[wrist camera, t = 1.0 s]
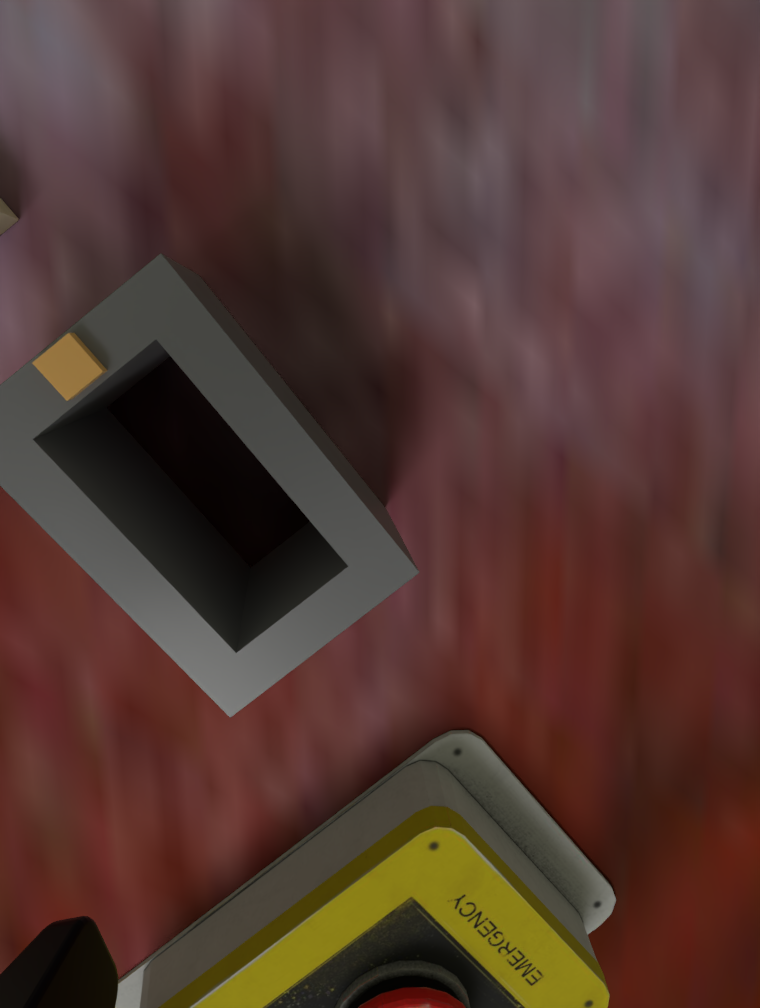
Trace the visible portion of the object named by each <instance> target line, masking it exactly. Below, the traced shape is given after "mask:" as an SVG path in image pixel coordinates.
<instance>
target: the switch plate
mask: <svg viewBox="0 0 760 1008" xmlns="http://www.w3.org/2000/svg"><path fill="white" fill-rule="evenodd" d="M18 220H19V219H18V218H17V217H16V215H15V214H14V213H13V212H12V211H11V210H10V208H9V207H8V206H7V205H6V204H5V203H4V201H3V200H2V199H1V198H0V235H1V234H3V233H4V232H5V231H6V230H7V229H9V228H10V227H11V226H12V225H13V224H15V223H16V222H17V221H18Z"/></svg>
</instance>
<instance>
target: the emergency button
mask: <svg viewBox="0 0 760 1008" xmlns="http://www.w3.org/2000/svg"><path fill="white" fill-rule="evenodd" d="M615 901H616V898H615V895H614V892H613V889H612V887H611V885H610V884H609V882H608V881H607V880H606V879H605V878H604V877H603V876H602V874H601V873H600V872H599V871H598V870H597V869H596V868H595V867H594V865H593V864H592V863H591V862H590V861H589V860H588V859H587V857H586V856H585V855H584V854H583V853H582V852H581V851H580V849H579V848H578V847H577V846H576V845H575V844H574V843H573V841H572V840H571V839H570V838H569V837H568V836H567V835H566V833H565V832H564V831H563V830H562V829H561V828H560V827H559V825H558V824H557V823H556V822H555V821H554V820H553V819H552V817H551V816H550V815H549V814H548V813H547V812H546V811H545V810H544V808H543V807H542V806H541V805H540V804H539V803H538V802H537V800H536V799H535V798H534V797H533V796H532V795H531V794H530V792H529V791H528V790H527V789H526V788H525V787H524V786H523V784H522V783H521V782H520V781H519V780H518V779H517V778H516V776H515V775H514V774H513V773H512V772H511V771H510V770H509V768H508V767H507V766H506V765H505V764H504V763H503V762H502V760H501V759H500V758H499V757H498V756H497V755H496V754H495V752H494V751H493V750H492V749H491V748H490V747H489V746H488V745H487V743H486V742H485V741H484V740H483V739H482V738H481V737H480V736H478V735H476V734H474V733H473V732H471V731H469V730H453V731H449V732H447V733H445V734H443V735H441V736H439V737H437V738H434V739H433V740H431V741H430V742H429V743H428V744H426V745H425V746H424V747H422V748H421V749H420V750H418V751H417V752H416V753H415V754H413V755H412V756H411V757H409V758H408V759H407V760H405V761H404V762H403V763H401V764H400V765H399V766H398V767H396V768H395V769H394V770H392V771H391V772H390V773H388V774H387V775H386V776H384V777H383V778H382V779H381V780H379V781H378V782H377V783H375V784H374V785H373V786H371V787H370V788H369V789H368V790H366V791H365V792H364V793H362V794H361V795H360V796H358V797H357V798H356V799H354V800H353V801H352V802H351V803H349V804H348V805H347V806H345V807H344V808H343V809H341V810H340V811H339V812H337V813H336V814H335V815H334V816H332V817H331V818H330V819H328V820H327V821H326V822H324V823H323V824H322V825H321V826H319V827H318V828H317V829H315V830H314V831H313V832H311V833H310V834H309V835H307V836H306V837H305V838H304V839H302V840H301V841H300V842H298V843H297V844H296V845H294V846H293V847H292V848H290V849H289V850H288V851H287V852H285V853H284V854H283V855H281V856H280V857H279V858H277V859H276V860H275V861H274V862H272V863H271V864H270V865H268V866H267V867H266V868H264V869H263V870H262V871H260V872H259V873H258V874H257V875H255V876H254V877H253V878H251V879H250V880H249V881H247V882H246V883H245V884H243V885H242V886H241V887H240V888H238V889H237V890H236V891H234V892H233V893H232V894H230V895H229V896H228V897H227V898H225V899H224V900H223V901H221V902H220V903H219V904H217V905H216V906H215V907H213V908H212V909H211V910H210V911H208V912H207V913H206V914H204V915H203V916H202V917H200V918H199V919H198V920H196V921H195V922H194V923H193V924H191V925H190V926H189V927H187V928H186V929H185V930H183V931H182V932H181V933H180V934H178V935H177V936H176V937H174V938H173V939H172V940H170V941H169V942H168V943H166V944H165V945H164V946H163V947H161V948H160V949H159V950H157V951H156V952H155V953H153V954H152V955H151V956H149V957H148V958H147V959H146V960H144V961H143V962H142V963H140V964H139V965H138V966H136V967H135V968H134V969H133V970H131V971H130V972H129V973H127V974H126V975H125V976H123V977H122V978H121V979H119V980H118V993H117V1000H116V1005H115V1008H607V1007H608V1002H609V996H610V995H609V991H608V988H607V985H606V981H605V978H604V975H603V972H602V970H601V968H600V966H599V963H598V962H597V960H596V957H595V954H594V952H593V949H592V946H591V943H590V941H589V938H588V934H589V933H590V932H592V931H593V930H594V929H596V928H597V927H599V926H600V925H601V924H602V923H603V922H604V921H605V920H606V919H607V918H608V917H609V915H610V914H611V913H612V911H613V908H614V905H615Z"/></svg>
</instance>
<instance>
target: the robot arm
mask: <svg viewBox="0 0 760 1008" xmlns="http://www.w3.org/2000/svg"><path fill="white" fill-rule="evenodd" d="M117 993H118V974H117V969H116V966H115V963H114V961H113V959H112V957H111V955H110V953H109V950H108V948H107V946H106V944H105V942H104V940H103V938H102V936H101V934H100V931H99V929H98V927H97V925H96V923H95V922H94V920H92V919H91V918H90V917H88V916H81V917H75V918H70V919H65V920H59V921H55V922H53V923H51V924H49V925H48V926H47V927H46V928H45V929H43V930H42V931H41V932H40V934H39V935H38V936H37V937H36V938H35V939H34V940H33V941H32V942H31V943H30V944H29V945H28V946H27V947H26V948H25V949H24V950H23V951H22V952H21V953H20V954H19V956H18V957H17V958H16V959H15V960H14V961H13V962H12V963H11V964H10V965H9V966H8V967H7V968H6V969H5V970H4V971H3V972H2V973H1V974H0V1008H115V1005H116V1000H117Z"/></svg>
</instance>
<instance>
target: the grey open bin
mask: <svg viewBox="0 0 760 1008" xmlns="http://www.w3.org/2000/svg"><path fill="white" fill-rule="evenodd" d="M170 356H171V357H172V358H173V360H174V361H175V362H176V363H177V364H178V366H179V367H180V368H181V369H182V370H183V371H184V373H185V374H186V375H187V376H188V377H189V379H190V380H191V381H192V382H193V383H194V384H195V386H196V387H197V388H198V389H199V390H200V392H201V393H202V394H203V395H204V396H205V397H206V399H207V400H208V401H209V402H210V403H211V405H212V406H213V407H214V408H215V409H216V410H217V412H218V413H219V414H220V415H221V416H222V418H223V419H224V420H225V421H226V422H227V423H228V425H229V426H230V427H231V428H232V429H233V431H234V432H235V433H236V434H237V435H238V436H239V438H240V439H241V440H242V441H243V442H244V444H245V445H246V446H247V447H248V448H249V449H250V451H251V452H252V453H253V454H254V455H255V457H256V458H257V459H258V460H259V461H260V462H261V464H262V465H263V466H264V467H265V468H266V470H267V471H268V472H269V473H270V474H271V475H272V477H273V478H274V479H275V480H276V481H277V483H278V484H279V485H280V486H281V487H282V488H283V490H284V491H285V492H286V493H287V494H288V496H289V497H290V498H291V499H292V500H293V501H294V503H295V504H296V505H297V506H298V507H299V509H300V510H301V511H302V512H303V513H304V514H305V516H306V517H307V518H308V519H309V520H310V522H309V523H307V524H306V525H305V526H303V527H302V528H301V529H300V530H298V531H297V532H296V533H294V534H293V535H292V536H291V537H289V538H288V539H287V540H286V541H284V542H283V543H282V544H280V545H279V546H278V547H277V548H275V549H274V550H273V551H271V552H270V553H269V554H268V555H266V556H265V557H264V558H262V559H261V560H260V561H259V562H257V563H256V564H255V565H254V566H252V567H251V568H250V566H249V565H248V564H247V563H246V562H245V561H244V560H243V559H242V558H241V556H240V555H239V554H238V553H237V552H236V551H235V550H234V549H233V548H232V546H231V545H230V544H229V543H228V542H227V541H226V540H225V539H224V538H223V536H222V535H221V534H220V533H219V532H218V531H217V530H216V529H215V528H214V526H213V525H212V524H211V523H210V522H209V521H208V520H207V519H206V518H205V516H204V515H203V514H202V513H201V512H200V511H199V510H198V509H197V508H196V506H195V505H194V504H193V503H192V502H191V501H190V500H189V499H188V498H187V496H186V495H185V494H184V493H183V492H182V491H181V490H180V489H179V488H178V486H177V485H176V484H175V483H174V482H173V481H172V480H171V479H170V478H169V476H168V475H167V474H166V473H165V472H164V471H163V470H162V469H161V468H160V466H159V465H158V464H157V463H156V462H155V461H154V460H153V459H152V458H151V456H150V455H149V454H148V453H147V452H146V451H145V450H144V449H143V448H142V446H141V445H140V444H139V443H138V442H137V441H136V440H135V439H134V438H133V436H132V435H131V434H130V433H129V432H128V431H127V430H126V429H125V428H124V426H123V425H122V424H121V423H120V422H119V421H118V420H117V419H116V418H115V416H114V415H113V414H112V413H111V412H110V411H109V410H108V409H107V407H108V406H109V405H110V404H112V403H113V402H114V401H115V400H117V399H118V398H119V397H120V396H122V395H123V394H124V393H125V392H126V391H128V390H129V389H130V388H131V387H133V386H134V385H135V384H136V383H138V382H139V381H140V380H141V379H143V378H144V377H145V376H146V375H147V374H149V373H150V372H151V371H152V370H154V369H155V368H156V367H157V366H159V365H160V364H161V363H162V362H164V361H165V360H166V359H167V358H168V357H170ZM0 486H1V487H2V488H3V489H4V490H5V491H6V492H7V493H8V494H9V495H10V496H11V497H12V498H13V499H14V500H15V501H16V502H17V503H18V504H19V505H20V506H21V507H22V508H23V509H24V510H25V511H26V512H27V513H28V514H29V515H30V516H31V517H32V518H33V519H34V520H35V521H36V522H37V523H38V524H39V525H40V526H41V527H42V528H43V529H44V530H45V531H46V532H47V533H48V534H49V535H50V536H51V537H52V538H53V539H54V540H55V541H56V542H57V543H58V544H59V545H60V546H61V547H62V548H63V549H64V550H65V551H66V552H67V553H68V554H69V555H70V556H71V557H72V558H73V559H74V560H75V561H76V562H77V563H78V564H79V565H80V566H81V567H82V568H83V569H84V570H85V571H86V572H87V573H88V575H89V576H90V577H91V578H92V579H93V580H94V581H95V582H96V583H97V584H98V585H99V586H100V587H101V588H102V589H103V590H104V591H105V592H106V593H107V594H108V595H109V596H110V597H111V598H112V599H113V600H114V601H115V602H116V603H117V604H118V605H119V606H120V607H121V608H122V609H123V610H124V611H125V612H126V613H127V614H128V615H129V616H130V617H131V618H132V619H133V620H134V621H135V622H136V623H137V624H138V625H139V626H140V627H141V628H142V629H143V630H144V631H145V632H146V633H147V634H148V635H149V636H150V637H151V638H152V639H153V640H154V641H155V642H156V643H157V644H158V645H159V646H160V647H161V648H162V649H163V650H164V651H165V652H166V653H167V654H168V655H169V656H170V657H171V658H172V659H173V660H174V661H175V662H176V663H177V664H178V665H179V666H180V667H181V668H182V669H183V670H184V671H185V672H186V673H187V674H188V675H189V676H190V677H191V678H192V679H193V680H194V681H195V682H196V683H197V684H198V685H199V686H200V687H201V689H202V690H203V691H204V692H205V693H206V694H207V695H208V696H209V697H210V698H211V699H212V700H213V701H214V702H215V703H216V704H217V705H218V706H219V707H220V708H221V709H222V710H223V711H224V712H225V713H226V714H227V715H228V716H229V717H232V716H233V715H234V714H236V713H237V712H238V711H240V710H241V709H242V708H243V707H245V706H246V705H247V704H249V703H250V702H251V701H253V700H254V699H255V698H257V697H258V696H259V695H260V694H262V693H263V692H264V691H266V690H267V689H268V688H270V687H271V686H272V685H273V684H275V683H276V682H277V681H279V680H280V679H281V678H283V677H284V676H285V675H286V674H288V673H289V672H290V671H292V670H293V669H294V668H296V667H297V666H298V665H300V664H301V663H302V662H303V661H305V660H306V659H307V658H309V657H310V656H311V655H313V654H314V653H315V652H316V651H318V650H319V649H320V648H322V647H323V646H324V645H326V644H327V643H328V642H330V641H331V640H332V639H333V638H335V637H336V636H337V635H339V634H340V633H341V632H343V631H344V630H345V629H346V628H348V627H349V626H350V625H352V624H353V623H354V622H356V621H357V620H358V619H359V618H361V617H362V616H363V615H365V614H366V613H367V612H369V611H370V610H371V609H373V608H374V607H375V606H376V605H378V604H379V603H380V602H382V601H383V600H384V599H386V598H387V597H388V596H389V595H391V594H392V593H393V592H395V591H396V590H397V589H399V588H400V587H401V586H403V585H404V584H405V583H406V582H408V581H409V580H410V579H412V578H413V577H414V576H416V575H417V574H418V573H419V570H418V569H417V567H416V565H415V563H414V561H413V559H412V557H411V555H410V553H409V551H408V550H407V548H406V546H405V544H404V542H403V540H402V538H401V536H400V534H399V532H398V531H397V529H396V527H395V525H394V523H393V521H392V519H391V517H390V515H389V513H388V512H387V510H386V508H385V507H384V506H383V504H382V503H381V502H380V501H379V499H378V498H377V497H376V496H375V494H374V493H373V492H372V491H371V489H370V488H369V487H368V486H367V484H366V483H365V482H364V481H363V479H362V478H361V477H360V476H359V474H358V473H357V472H356V471H355V469H354V468H353V467H352V466H351V464H350V463H349V462H348V461H347V459H346V458H345V457H344V456H343V454H342V453H341V452H340V451H339V449H338V448H337V447H336V446H335V444H334V443H333V442H332V441H331V439H330V438H329V437H328V436H327V434H326V433H325V432H324V431H323V429H322V428H321V427H320V426H319V424H318V423H317V422H316V421H315V419H314V418H313V417H312V416H311V414H310V413H309V412H308V411H307V409H306V408H305V407H304V406H303V404H302V403H301V402H300V401H299V399H298V398H297V397H296V396H295V394H294V393H293V392H292V391H291V389H290V388H289V387H288V386H287V384H286V383H285V382H284V381H283V379H282V378H281V377H280V376H279V374H278V373H277V372H276V371H275V369H274V368H273V367H272V366H271V364H270V363H269V362H268V361H267V359H266V358H265V357H264V356H263V354H262V353H261V352H260V351H259V349H258V348H257V347H256V346H255V344H254V343H253V342H252V341H251V339H250V338H249V337H248V336H247V334H246V333H245V332H244V331H243V329H242V328H241V327H240V326H239V324H238V323H237V322H236V321H235V319H234V318H233V317H232V316H231V314H230V313H229V312H228V311H227V309H226V308H225V307H224V306H223V304H222V303H221V302H220V301H219V299H218V298H217V297H216V296H215V294H214V293H213V292H212V291H211V289H210V288H209V287H208V286H207V284H206V283H205V282H204V281H203V279H202V278H201V277H200V276H199V275H198V274H196V273H194V272H193V271H191V270H189V269H187V268H186V267H184V266H182V265H180V264H179V263H177V262H175V261H174V260H172V259H170V258H168V257H167V256H165V255H163V254H159V255H158V256H157V257H156V258H154V259H153V260H152V261H151V262H150V263H148V264H147V265H146V266H145V267H143V268H142V269H141V270H140V271H139V272H137V273H136V274H135V275H134V276H133V277H131V278H130V279H129V280H128V281H126V282H125V283H124V284H123V285H122V286H120V287H119V288H118V289H117V290H115V291H114V292H113V293H112V294H111V295H109V296H108V297H107V298H106V299H104V300H103V301H102V302H101V303H100V304H98V305H97V306H96V307H95V308H93V309H92V310H91V311H90V312H89V313H87V314H86V315H85V316H84V317H83V318H81V319H80V320H79V321H78V322H76V323H75V324H74V325H73V326H72V327H70V328H69V329H68V330H67V331H65V332H64V333H63V334H62V335H61V336H59V337H58V338H57V339H56V340H54V341H53V342H52V343H51V344H50V345H48V346H47V347H46V348H45V349H44V350H42V351H41V352H40V353H39V354H37V355H36V356H35V357H34V358H33V359H31V360H30V361H29V362H28V363H26V364H25V365H24V366H23V367H22V368H20V369H19V370H18V371H17V372H15V373H14V374H13V375H12V376H11V377H9V378H8V379H7V380H6V381H5V382H3V383H2V384H1V385H0Z"/></svg>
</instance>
